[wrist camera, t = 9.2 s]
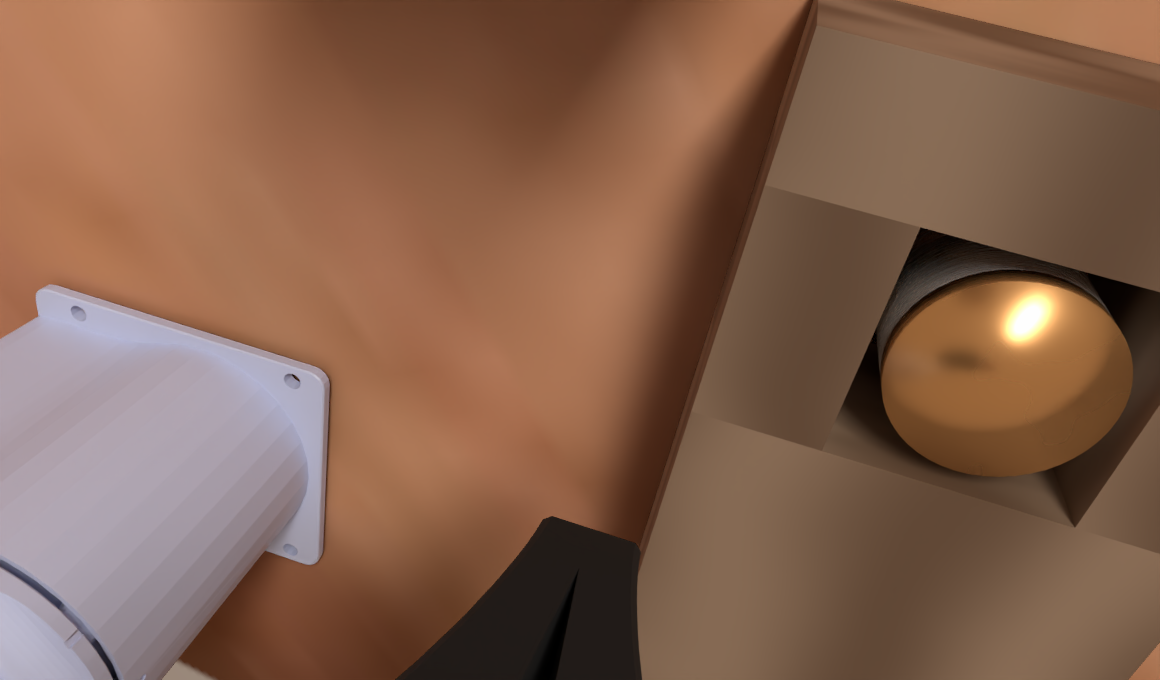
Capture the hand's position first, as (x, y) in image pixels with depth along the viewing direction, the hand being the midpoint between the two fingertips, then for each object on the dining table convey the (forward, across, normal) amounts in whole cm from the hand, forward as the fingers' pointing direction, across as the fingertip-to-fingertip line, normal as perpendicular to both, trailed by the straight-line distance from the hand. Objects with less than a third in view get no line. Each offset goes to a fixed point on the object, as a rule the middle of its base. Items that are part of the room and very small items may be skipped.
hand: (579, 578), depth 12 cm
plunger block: (+10, -6, +6) cm, 13 cm away
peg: (+10, -6, -2) cm, 12 cm away
